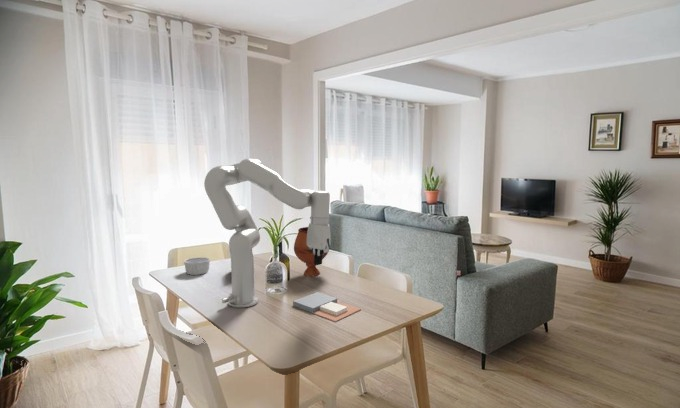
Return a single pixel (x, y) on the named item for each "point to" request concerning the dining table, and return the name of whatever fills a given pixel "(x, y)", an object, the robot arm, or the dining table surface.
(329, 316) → the mat
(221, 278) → the dining table surface
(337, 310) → the ceramic tile
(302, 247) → the goblet
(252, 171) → the robot arm
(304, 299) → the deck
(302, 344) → the dining table surface
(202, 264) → the ramekin
